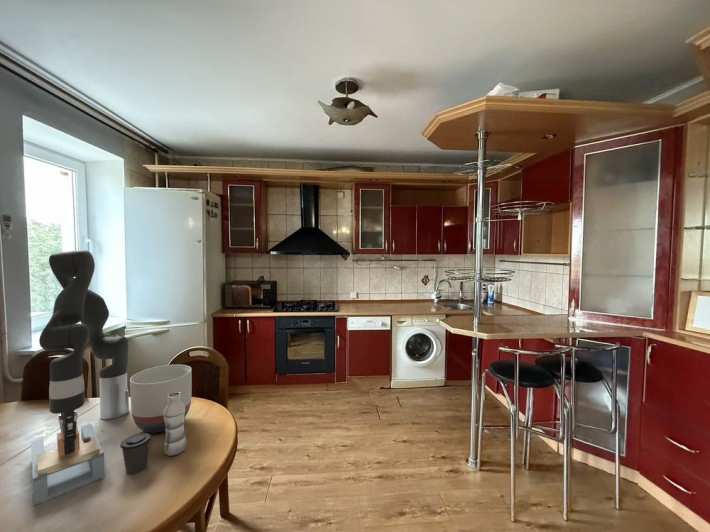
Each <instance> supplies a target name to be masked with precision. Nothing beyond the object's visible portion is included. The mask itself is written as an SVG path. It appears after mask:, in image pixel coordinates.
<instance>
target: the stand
mask: <svg viewBox="0 0 710 532" xmlns="http://www.w3.org/2000/svg"><path fill="white" fill-rule="evenodd" d="M92 425H93V424H92V423H89V424H86V425H82V426H80V433H81V434H80V437H81V438H80V439H81V440H80V441H83V439H84V438H86V437H91V438H92V437H95V439H96V442H97V444H98V447H99V451H100V454H97V455H94V456H92V458H91V459H88V460H86V461H83V462H80V463H78V464H75V465H72V466H69V467H67V468H64V469H61V470H59V471H56V472H53V473H50V474H48V475H47V473H45V474H42V475H39V476H38V470H37V455H40V454H43V453H46V452H45V442H44V438H39V439H37V440H32V441H31V442H30V444H31V475H32V477H31V478H32V480H31V481H32V499H33V501H32V502H33V503H32V504H33V506H36V505H39V504H41V503H44V502H47V501H48V500H52V499H54V498H55V497H58V496H60V495H64V494H65V493H68V492H70V491H73V490H75V489H77V488H80V487H82V486H85V485H87V484H90V483H92V482H95V481H98V480H101V479H102V478H105V476H106V474H105V473H106V471H105V470H106V469H105V452H104V451H103V450H102V447H101V445H100V442H99V440H98V437H97V435H96V432H95V430H94V426H92Z"/></svg>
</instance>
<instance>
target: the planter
mask: <svg viewBox="0 0 710 532" xmlns="http://www.w3.org/2000/svg"><path fill="white" fill-rule="evenodd" d="M192 376H193V375H192V367H191V366H189V365H186V364H166V365H160V366H155V367H151V368H147V369H143V370H142V371H139V372H137V373H135V374H133V375H132V376H131V377H130V379H129V392H130V394H129V395H130V396H129V399H130V408H131V409H130V410H131V415H132V420H133V422H134V424H135V425H136V427H137V428H139V429H140V430H142V431H144V432H145V433H154V434H157V433H162V432H163V433H164V432H166V428H165V421H164V416H163V411H164V409H165V407H166V406H167V404H168V403H169V402H168V395H169V394H172V393H176V392H179V393H180V397H181V399H180V401H181V402H182V403H183V404H184V406H185V415H184V419H185V418H186V416H187V415H188V413H189V411H190V408H191V403H192V387H193V383H192V379H193V377H192Z"/></svg>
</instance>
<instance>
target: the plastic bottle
mask: <svg viewBox="0 0 710 532" xmlns="http://www.w3.org/2000/svg"><path fill="white" fill-rule="evenodd" d="M180 399H181V397H180V393H179V392H176V393H172V394H169V395H168V402H169V403H168V404H167V406H166V407H165V409H164V411H163V416H164V421H165V428H166V431H165V440H164V447H163V450H164V454H165V455H167V456H170V457H171V456H172V457H173V456H177V455H179V454H181V453H183V452H184V450H185V449H186V447H187V438H186V434H185V427H184V426H185V424H184V423H185V418H184V415H185V406H184V404H183V403H182V402H181V401H180Z"/></svg>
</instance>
